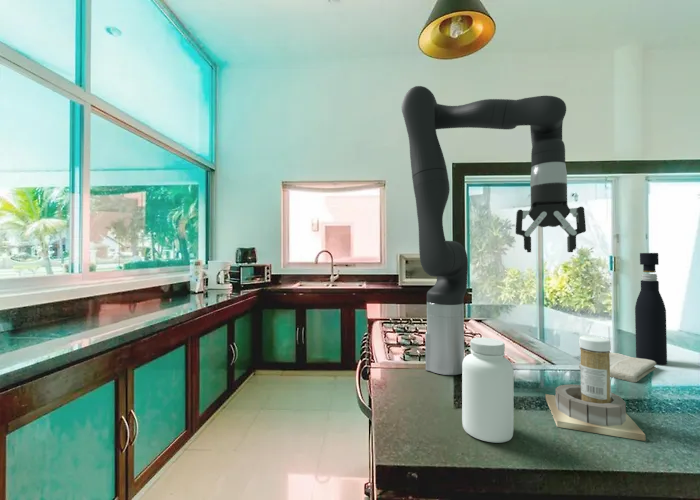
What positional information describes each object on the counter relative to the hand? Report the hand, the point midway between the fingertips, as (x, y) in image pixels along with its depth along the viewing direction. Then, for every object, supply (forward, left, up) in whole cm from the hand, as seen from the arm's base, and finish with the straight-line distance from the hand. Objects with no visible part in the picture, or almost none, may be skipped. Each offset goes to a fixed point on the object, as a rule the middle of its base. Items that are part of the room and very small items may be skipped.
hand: (549, 252), depth 80 cm
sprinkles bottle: (+4, -19, -29) cm, 35 cm away
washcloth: (+17, +15, -31) cm, 39 cm away
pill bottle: (-14, -31, -30) cm, 46 cm away
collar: (+3, -19, -30) cm, 36 cm away
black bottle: (+28, +26, -30) cm, 49 cm away
